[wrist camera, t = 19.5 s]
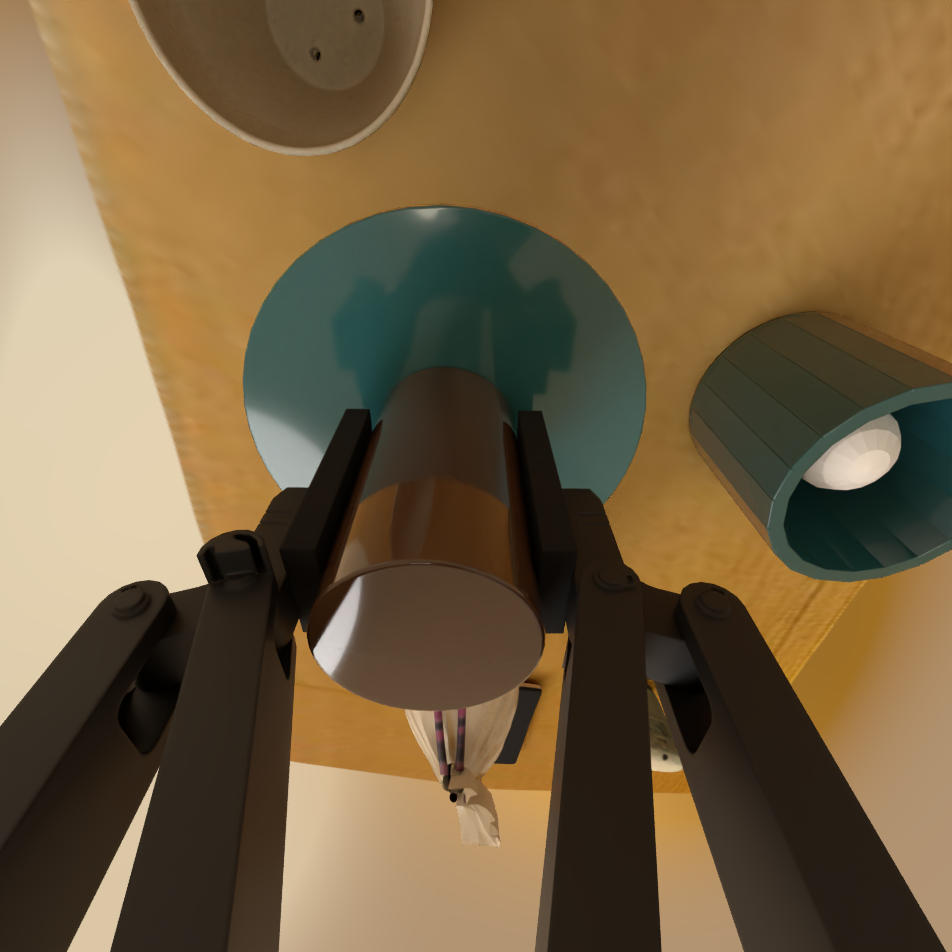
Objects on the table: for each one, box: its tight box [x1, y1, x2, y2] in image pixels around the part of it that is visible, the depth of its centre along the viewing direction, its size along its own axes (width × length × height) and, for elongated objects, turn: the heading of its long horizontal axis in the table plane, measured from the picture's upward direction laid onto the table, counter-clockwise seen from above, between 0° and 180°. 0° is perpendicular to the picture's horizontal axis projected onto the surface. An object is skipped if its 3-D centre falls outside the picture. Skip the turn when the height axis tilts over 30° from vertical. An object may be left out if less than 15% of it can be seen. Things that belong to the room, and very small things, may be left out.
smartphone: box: [494, 683, 542, 764], centre depth 52 cm, size 7×1×15 cm
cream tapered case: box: [647, 685, 683, 772], centre depth 46 cm, size 6×5×8 cm
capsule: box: [802, 414, 901, 490], centre depth 28 cm, size 5×5×8 cm
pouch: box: [405, 686, 519, 847], centre depth 32 cm, size 25×8×19 cm, turn 8°
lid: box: [243, 203, 646, 711], centre depth 14 cm, size 14×14×10 cm
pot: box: [689, 311, 952, 582], centre depth 27 cm, size 12×12×10 cm
